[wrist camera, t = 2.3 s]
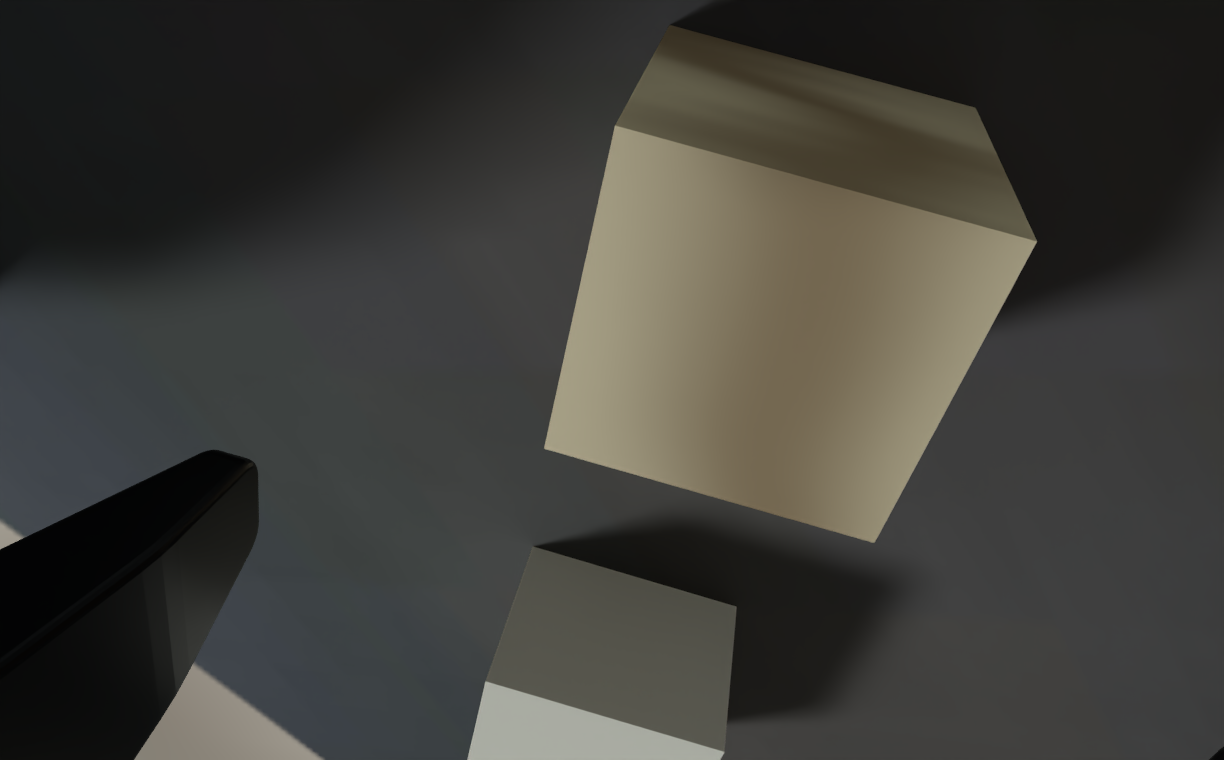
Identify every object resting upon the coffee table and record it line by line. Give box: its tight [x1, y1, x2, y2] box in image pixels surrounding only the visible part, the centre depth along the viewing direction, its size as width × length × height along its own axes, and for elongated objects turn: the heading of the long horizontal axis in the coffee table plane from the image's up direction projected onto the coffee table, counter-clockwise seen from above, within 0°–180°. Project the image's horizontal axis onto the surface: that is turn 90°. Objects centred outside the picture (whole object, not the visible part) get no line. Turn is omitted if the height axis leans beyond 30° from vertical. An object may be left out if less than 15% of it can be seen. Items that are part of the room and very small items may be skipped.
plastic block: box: [468, 547, 737, 760], centre depth 22 cm, size 5×5×4 cm
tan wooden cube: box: [544, 25, 1037, 543], centre depth 14 cm, size 5×5×5 cm
